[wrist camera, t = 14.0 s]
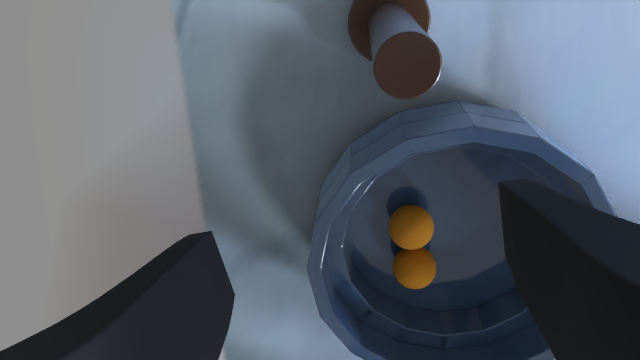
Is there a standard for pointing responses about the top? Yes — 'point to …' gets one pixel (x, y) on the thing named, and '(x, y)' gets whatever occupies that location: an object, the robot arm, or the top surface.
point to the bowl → (435, 234)
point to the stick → (396, 44)
